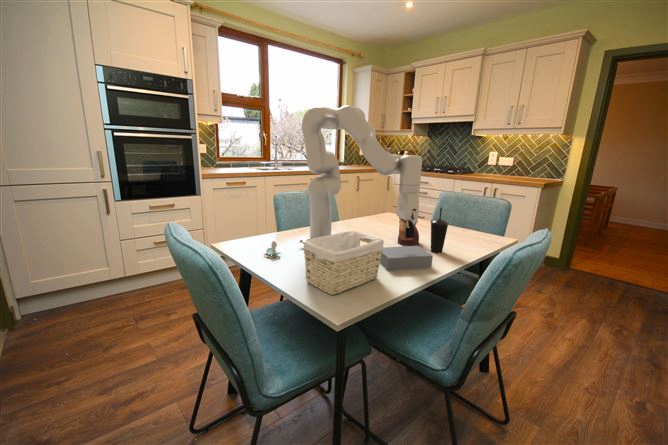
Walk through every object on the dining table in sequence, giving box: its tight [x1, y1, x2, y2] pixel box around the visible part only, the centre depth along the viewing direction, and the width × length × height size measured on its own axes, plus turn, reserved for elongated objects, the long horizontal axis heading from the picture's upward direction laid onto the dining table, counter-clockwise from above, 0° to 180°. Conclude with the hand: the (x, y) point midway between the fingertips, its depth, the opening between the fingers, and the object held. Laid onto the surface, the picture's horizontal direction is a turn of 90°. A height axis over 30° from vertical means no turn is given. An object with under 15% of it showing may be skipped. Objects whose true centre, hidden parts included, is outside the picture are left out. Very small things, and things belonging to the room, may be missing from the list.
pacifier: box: [263, 240, 281, 259], centre depth 127 cm, size 7×6×6 cm
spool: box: [399, 219, 413, 240], centre depth 119 cm, size 5×5×7 cm
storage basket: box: [303, 230, 385, 296], centre depth 104 cm, size 24×16×15 cm
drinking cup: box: [430, 207, 450, 254], centre depth 135 cm, size 8×8×20 cm
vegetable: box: [397, 218, 420, 246], centre depth 146 cm, size 10×10×15 cm
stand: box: [380, 245, 433, 272], centre depth 122 cm, size 18×12×5 cm, turn 102°
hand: (406, 235), depth 119 cm, fingers closed on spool, 5 cm apart
